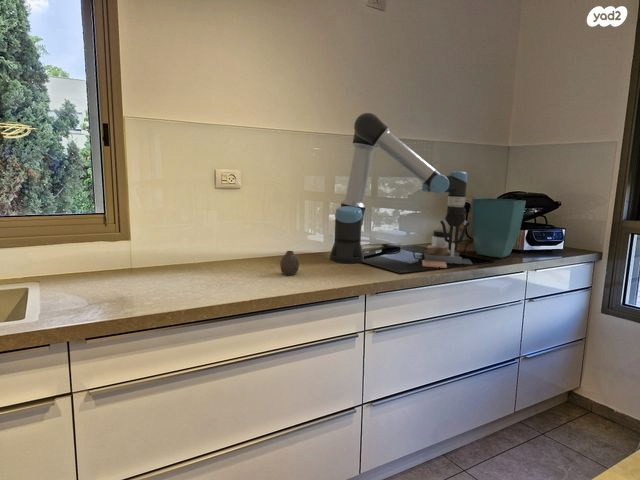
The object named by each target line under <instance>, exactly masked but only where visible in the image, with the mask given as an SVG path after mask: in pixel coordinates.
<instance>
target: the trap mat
mask: <svg viewBox="0 0 640 480" xmlns="http://www.w3.org/2000/svg"><path fill="white" fill-rule="evenodd" d="M461 265H467V266H468V265H469V266H470V265H471V266H473V265H474V264H473V262H472V261H471V259H470V258H462V262H461Z"/></svg>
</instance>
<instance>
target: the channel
mask: <svg viewBox="0 0 640 480" xmlns="http://www.w3.org/2000/svg"><path fill="white" fill-rule="evenodd" d="M423 251H424V252H423V257H424V259H423V260H429V261H442V262H446V264H453V263H454V264H455V265H462V263H461V262H462V259H463V257H462V256H460V252H454V257H453V256H450V252H447V256H439V255H427V250H423Z"/></svg>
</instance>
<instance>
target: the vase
mask: <svg viewBox="0 0 640 480" xmlns="http://www.w3.org/2000/svg"><path fill="white" fill-rule="evenodd" d="M279 266H280V267H279V268H280V271H281V272H282V274H283V275H285V276H287V277H288V276H295V275H296V274H297V273H298V271H299V268H300V267H299V266H300V262H299V258H298V257H297V255H296V254H295V252H294V251H293V250H286V252H285V254H284V255H283V256H282V257H281V260H280V265H279Z"/></svg>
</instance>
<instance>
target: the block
mask: <svg viewBox="0 0 640 480" xmlns="http://www.w3.org/2000/svg"><path fill="white" fill-rule="evenodd" d="M426 251H427V255H439V256H447V251H448V247H443V246H432V245H431V244H430V245H427V248H426Z"/></svg>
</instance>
